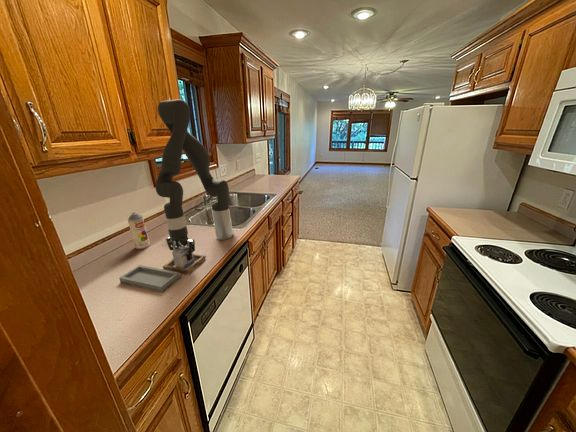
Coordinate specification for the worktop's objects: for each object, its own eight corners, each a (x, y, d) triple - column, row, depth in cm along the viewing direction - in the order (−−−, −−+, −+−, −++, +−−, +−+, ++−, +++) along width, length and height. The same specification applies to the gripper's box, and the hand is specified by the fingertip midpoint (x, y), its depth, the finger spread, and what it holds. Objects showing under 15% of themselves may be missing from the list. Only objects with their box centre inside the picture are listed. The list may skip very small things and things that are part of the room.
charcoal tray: (140, 269, 109) (139, 264, 108) (180, 277, 103) (179, 272, 102) (120, 282, 100) (119, 277, 100) (162, 292, 94) (161, 286, 93)
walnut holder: (183, 255, 120) (182, 252, 119) (205, 259, 116) (204, 255, 116) (163, 270, 108) (162, 266, 108) (187, 274, 105) (186, 270, 104)
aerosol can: (142, 250, 126) (132, 214, 119) (132, 248, 129) (122, 213, 121) (153, 244, 132) (144, 210, 125) (143, 242, 135) (134, 209, 127)
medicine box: (183, 269, 108) (180, 253, 105) (175, 268, 109) (171, 251, 106) (194, 260, 115) (191, 244, 112) (186, 259, 117) (183, 243, 113)
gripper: (196, 224, 106) (202, 257, 113) (170, 221, 111) (177, 253, 117) (184, 230, 100) (191, 265, 106) (157, 227, 104) (165, 261, 110)
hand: (184, 258), depth 111 cm, fingers open, 5 cm apart
